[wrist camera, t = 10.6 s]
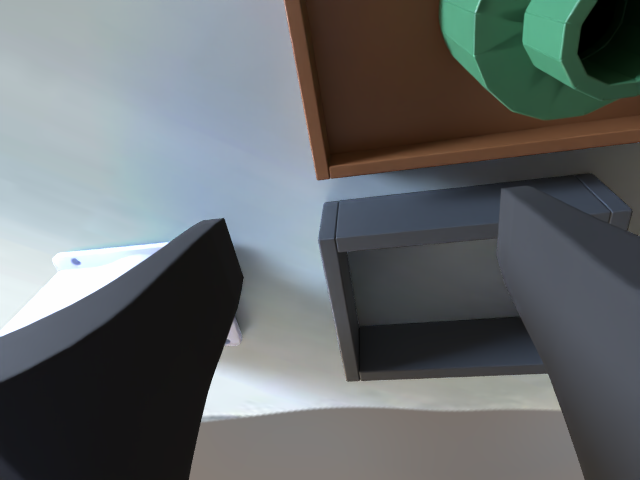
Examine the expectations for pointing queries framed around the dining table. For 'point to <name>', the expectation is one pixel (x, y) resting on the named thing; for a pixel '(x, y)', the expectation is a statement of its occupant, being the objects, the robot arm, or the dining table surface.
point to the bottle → (547, 51)
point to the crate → (432, 228)
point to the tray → (415, 95)
